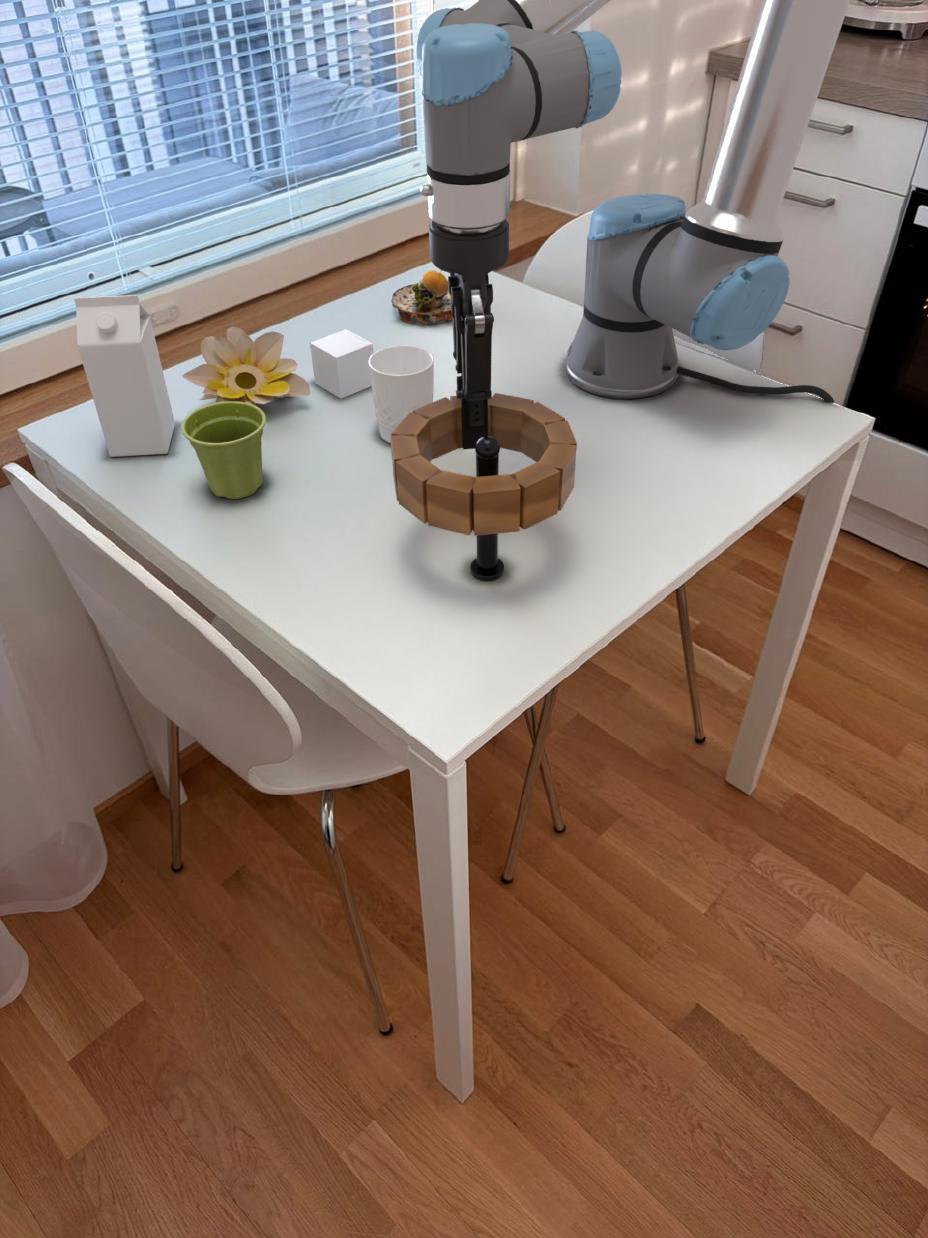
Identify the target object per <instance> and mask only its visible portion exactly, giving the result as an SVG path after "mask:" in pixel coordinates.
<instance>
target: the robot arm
mask: <svg viewBox="0 0 928 1238" xmlns="http://www.w3.org/2000/svg"><path fill="white" fill-rule="evenodd" d="M611 1H612V0H478V1H477V2H475V3H473V4H472V5H471V6H470V7H468V8H467V9H464V8H462V7H452V8H450V7H449V8H448V7H446V8H440V9H437V10H435V11H434V12H432V13H431V14H430V15H428V16H427V18H426V19H425V20H424V22H423V23H422V24H421V27H420V29H419V30H418V34H417V37H416V41H415V48H414V49H415V54H414V55H415V62H416V66H417V69H418V72H419V74H420V76H421V85H420V96H421V97H420V98H422V113H423V129H424V130H423V131H424V148H425V164H426V173H427V174H426V179H427V181H428V183H429V184H423V185H421V187H420V194H421V196H423V197H427V205H428V217H429V218H430V220H431V222H430V223H429V224H428V241H429V258H430V259H429V260H430V261H431V263H432V264H433V266H434V267H435V268H437V269H439V270H440V271H441V270H442V271H441V272H445V273H448V274H449V275H448V276H447V281H448V289H449V293H450V295H451V312H452V319H451V320H452V338H453V339H452V341H453V351H452V355H453V356H452V357H453V359H454V361H456V364H455V366H454V367H455V368H454V369H455V371H456V373H457V374H459V375H456V390H455V396H456V397H457V399H459V398H461V416H462V447H463V448H462V450H475V445H476V442H477V441H478V440H479V439H480V438H481V437H483V436H488V399H491V396H493V390H492V349H493V348H492V347H493V346H492V344H493V343H492V342H493V327H494V322H495V317H494V314H493V312H492V304H493V302H494V287H493V283H490V279H489V274H490V273H491V272H493V271H496V270H499V269H500V268H502V267H503V266H504V265H505V264H507V262H508V260H509V257H510V223H509V221H508V220H507V219H508V217H509V216H510V213H511V212H510V211H511V147H512V145H511V144H512V143H517V142H521V141H525V140H528V139H532V138H533V139H534V138H536V137H541V136H544V135H545V136H546V135H549V134H554V133H557V132H561V131H565V130H570V129H580V128H583V126H585V125H588V124H591V123H593V122H597V121H598V120H602V119H603V118H605V117H607V115H609V114H610V112H612V110H613V109H614V107H615V106H616V104H617V103H618V99H619V97H620V93H621V88H622V87H621V85H622V64H621V60H620V57H619V54H618V51H617V49H616V47H615V45H614V44H613V42H612V41H611V39H610V38H609V37H608V36H606V35H605V34H604V33H603V32H601V31H597V30H585V31H578V30H576V29H577V28H578V27H579V26H582V24H583V23H585V22H586V21H587V20H588V19H589V18H591V17H592V16H593V15H595V14H596V13H597V12H598V11H600V10H601V9H602V8H603V7H604V6H606V5H608V3H610V2H611ZM850 2H851V0H761V3H760V5H759V9H758V13H757V17H756V20H755V23H754V26H753V29H752V32H751V37H750V39H749V43H748V47H747V49H746V52H745V53H746V54H745V57H744V60H743V63H742V65H741V66H742V67H741V69H740V73H739V77H738V80H737V84H736V86H735V90H734V93H733V96H732V100H731V103H730V107H729V110H728V114H727V117H726V120H725V124H724V127H723V131H722V133H721V137H720V141H719V144H718V147H717V150H716V154H715V158H714V161H713V164H712V166H711V167H712V168H711V171H710V174H709V178H708V180H707V184H706V188H705V191H704V194H703V198H702V199H701V201H700V202H698V203H696V204H695V205H693V206H692V207H690V208H689V209H686V208H687V207H686V202H685V201H684V200H683V199H681V198H680V197H677V196H674V195H670V194H660V193H638V194H629V195H623V196H619V197H618V196H617V197H614V198H612V199H607V200H605V201H603V202H601V203H599V204H597V206H596V207H595V208H594V209H593V211H592V213H591V216H590V222H589V229H588V235H587V237H586V259H585V274H584V275H585V277H584V295H583V312H582V318H581V320H580V323H579V326H578V328H577V330H576V333H575V334H574V338H573V339H572V341H571V344H570V345H569V348H568V349H567V351H566V355H565V356H567V358H566V365H565V366H566V367H565V371H566V375H567V377H568V379H569V381H571V382H572V383H573V384H574V385H575V386H577V387H578V388H580V389H582V390H583V391H586V392H588V393H591V394H593V395H596V396H600V397H606V398H613V399H622V400H623V399H627V400H628V399H642V398H648V397H652V396H656V395H658V394H661V393H663V392H665V391H667V390H669V389H670V388H671V387H672V386H673V385H674V384H675V383H676V381H677V378H678V375H680V376H684V377H688V378H691V379H694V380H698V381H701V382H705V383H708V384H711V385H714V386H717V387H721V388H724V389H726V390H729V391H732V392H737V393H741V394H742V393H743V394H753V395H754V394H755V395H773V396H774V395H787V394H788V395H790V394H801V393H805V394H811V395H815V396H817V397H819V398H820V399H822V400H823V401H824V402H825V403H828V404H834V403H835V399H834V398H833V396H832V395H831V394H830V393H829V392H828V391H826V390H825V389H823V388H821V387H819V386H815V385H810V384H809V385H808V384H799V385H798V384H797V385H789V386H757V385H754V386H753V385H745V384H739V383H735V382H731V381H728V380H725V379H722V378H720V377H717V376H713V375H710V374H706V373H703V372H700V371H696V370H693V369H689V368H686V367H683V366H682V367H681V366H679V355H678V350H677V346H676V339H675V335H674V330H675V331H677V332H679V333H681V334H683V335H685V336H687V337H689V338H690V339H691V340H692V341H694V342H696V343H698V344H701V345H707V346H709V347H711V348H714V349H717V350H720V351H734V350H738V349H740V348H743V347H745V346H747V345H749V344H750V343H751V342H753V341H755V340H756V339H757V337H759V336H760V335H761V334H762V333H764V332H765V331H766V329H767V328H768V327H769V326H770V325H771V324H772V322H773V321H774V320H775V319H776V317H777V315H778V314H779V312H780V311H781V309H782V307H783V304H784V302H785V300H786V298H787V296H788V292H789V288H790V283H791V281H790V277H789V275H790V270H789V267H788V265H787V264H786V262H785V261H784V260H783V259H782V258H781V257H780V256H779V253H780V251H781V248H782V246H783V242H784V239H785V234H784V232H783V230H782V228H781V226H780V224H779V221H778V215H779V212H780V209H781V206H782V203H783V201H784V197H785V195H786V191H787V188H788V185H789V184H790V183H789V182H790V180H791V177H792V174H793V170H794V169H795V168H794V167H795V164H796V162H797V159H798V156H799V153H800V150H801V147H802V144H803V141H804V138H805V135H806V132H807V129H808V126H809V123H810V121H811V117H812V114H813V112H814V109H815V105H816V102H817V101H818V100H817V99H818V97H819V93H820V91H821V88H822V86H823V82H824V79H825V77H826V73H827V70H828V67H829V64H830V61H831V58H832V56H833V52H834V50H835V47H836V44H837V40H838V38H839V35H840V33H841V32H840V31H841V29H842V27H843V23H844V20H845V17H846V14H847V11H848V8H849V5H850Z"/></svg>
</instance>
